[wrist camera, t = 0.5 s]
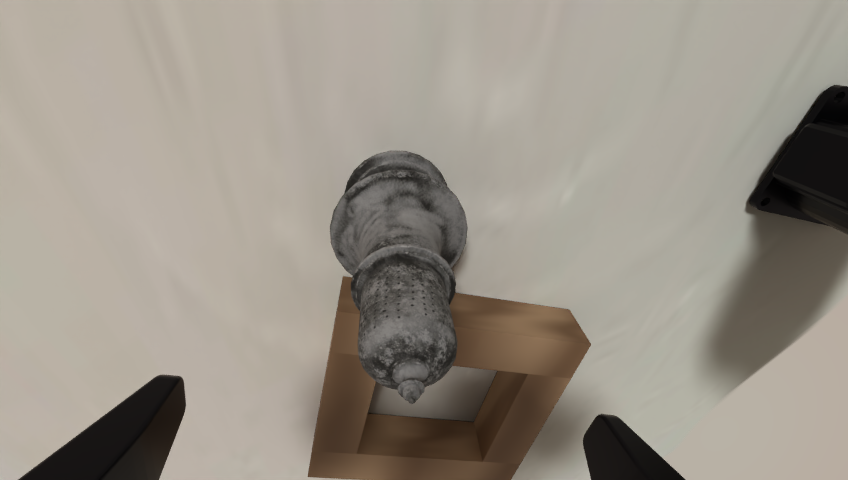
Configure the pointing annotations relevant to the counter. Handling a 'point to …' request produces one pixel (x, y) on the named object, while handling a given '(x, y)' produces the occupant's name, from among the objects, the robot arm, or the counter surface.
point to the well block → (446, 439)
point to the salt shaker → (401, 267)
